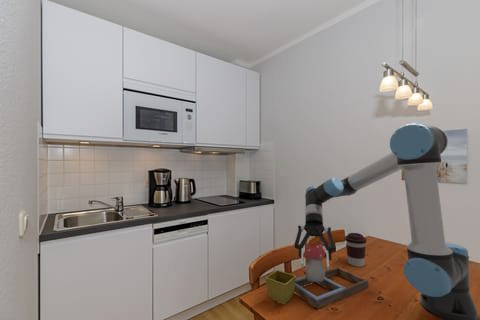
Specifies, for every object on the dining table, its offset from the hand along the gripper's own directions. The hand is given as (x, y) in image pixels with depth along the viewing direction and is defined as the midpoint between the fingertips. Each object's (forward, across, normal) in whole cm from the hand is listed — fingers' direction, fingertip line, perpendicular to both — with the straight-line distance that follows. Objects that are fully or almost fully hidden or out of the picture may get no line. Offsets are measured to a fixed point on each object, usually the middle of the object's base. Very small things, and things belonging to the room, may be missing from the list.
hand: (315, 266), depth 93 cm
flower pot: (+12, +13, -5) cm, 18 cm away
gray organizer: (+3, -6, -14) cm, 15 cm away
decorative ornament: (+2, 0, -7) cm, 7 cm away
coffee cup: (-17, -20, -34) cm, 44 cm away
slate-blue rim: (+4, -1, -8) cm, 9 cm away
